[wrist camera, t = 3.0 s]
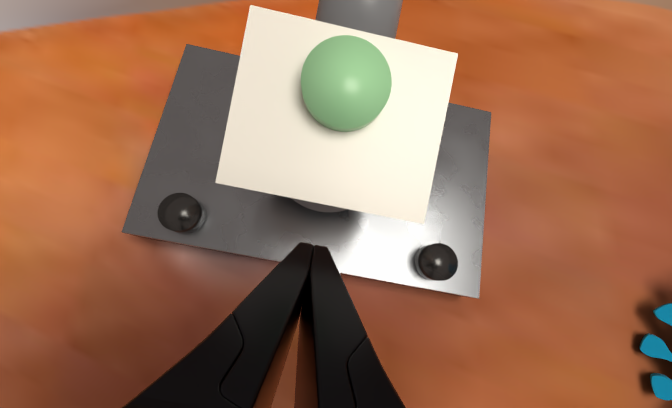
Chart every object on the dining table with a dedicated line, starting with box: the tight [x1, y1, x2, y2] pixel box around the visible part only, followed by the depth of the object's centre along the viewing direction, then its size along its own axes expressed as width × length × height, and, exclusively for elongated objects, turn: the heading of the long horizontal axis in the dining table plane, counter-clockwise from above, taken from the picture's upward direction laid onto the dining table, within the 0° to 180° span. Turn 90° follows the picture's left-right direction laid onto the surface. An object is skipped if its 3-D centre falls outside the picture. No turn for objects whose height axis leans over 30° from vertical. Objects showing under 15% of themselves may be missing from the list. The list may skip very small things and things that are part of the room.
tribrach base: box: [122, 44, 491, 298], centre depth 19 cm, size 12×20×3 cm, turn 80°
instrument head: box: [215, 0, 458, 224], centre depth 12 cm, size 10×6×9 cm, turn 170°
